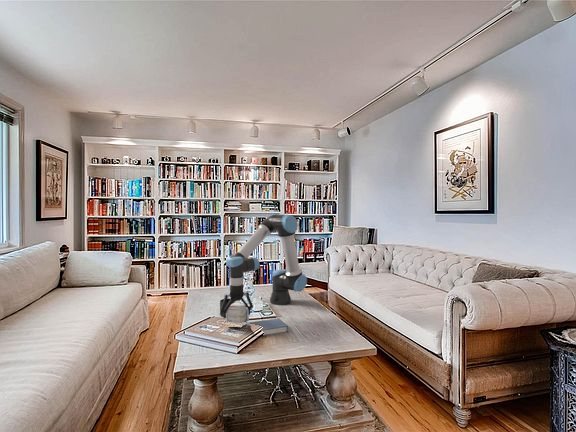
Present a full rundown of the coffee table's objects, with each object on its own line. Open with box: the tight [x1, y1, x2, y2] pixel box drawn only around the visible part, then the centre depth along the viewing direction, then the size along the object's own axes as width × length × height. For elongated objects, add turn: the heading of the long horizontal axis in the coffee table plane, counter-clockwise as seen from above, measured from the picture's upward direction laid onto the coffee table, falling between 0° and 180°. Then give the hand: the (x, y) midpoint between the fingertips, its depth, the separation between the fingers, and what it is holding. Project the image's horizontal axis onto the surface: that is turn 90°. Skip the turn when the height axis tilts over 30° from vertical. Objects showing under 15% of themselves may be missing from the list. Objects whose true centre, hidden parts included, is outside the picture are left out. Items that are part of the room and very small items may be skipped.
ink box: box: [227, 302, 248, 323], centre depth 183 cm, size 9×8×12 cm
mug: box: [219, 297, 236, 317], centre depth 203 cm, size 9×12×9 cm
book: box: [248, 317, 289, 337], centre depth 178 cm, size 18×13×4 cm
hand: (237, 322), depth 183 cm, fingers closed on ink box, 11 cm apart
